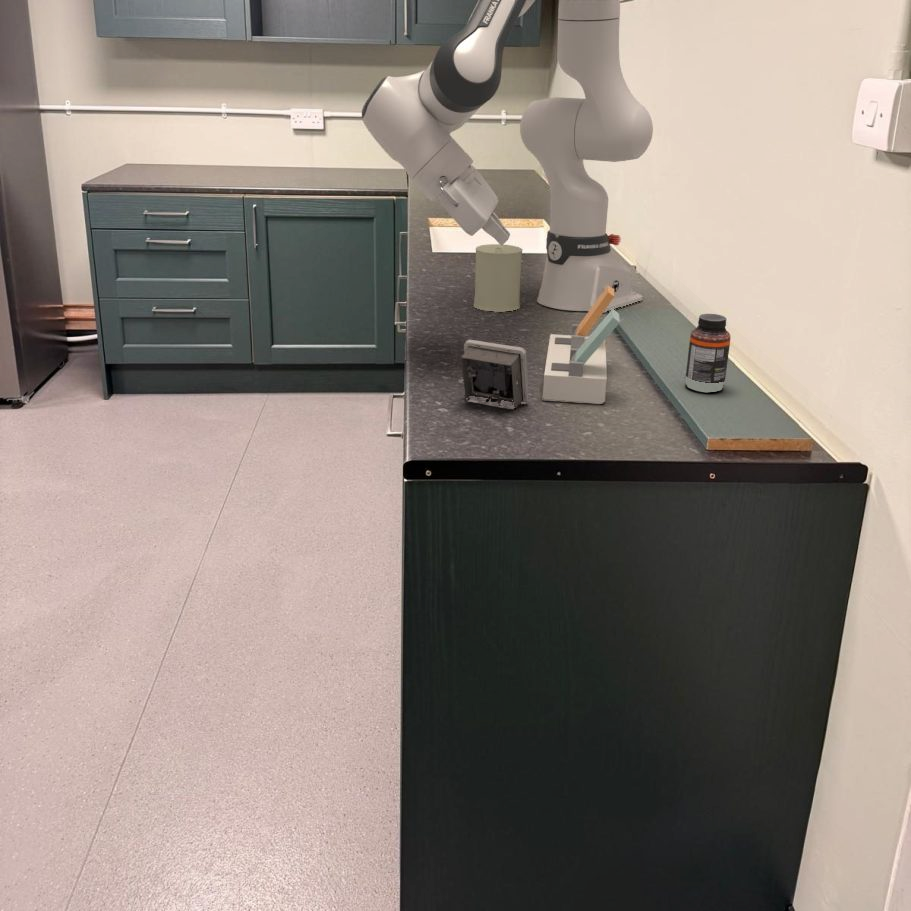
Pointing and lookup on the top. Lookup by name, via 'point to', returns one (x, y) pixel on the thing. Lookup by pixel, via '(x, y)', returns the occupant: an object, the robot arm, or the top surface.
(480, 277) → the can
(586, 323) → the rocker orange
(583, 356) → the rocker teal
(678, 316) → the top surface
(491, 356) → the electrical switch
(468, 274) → the top surface
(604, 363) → the white switch base
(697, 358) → the supplement bottle
